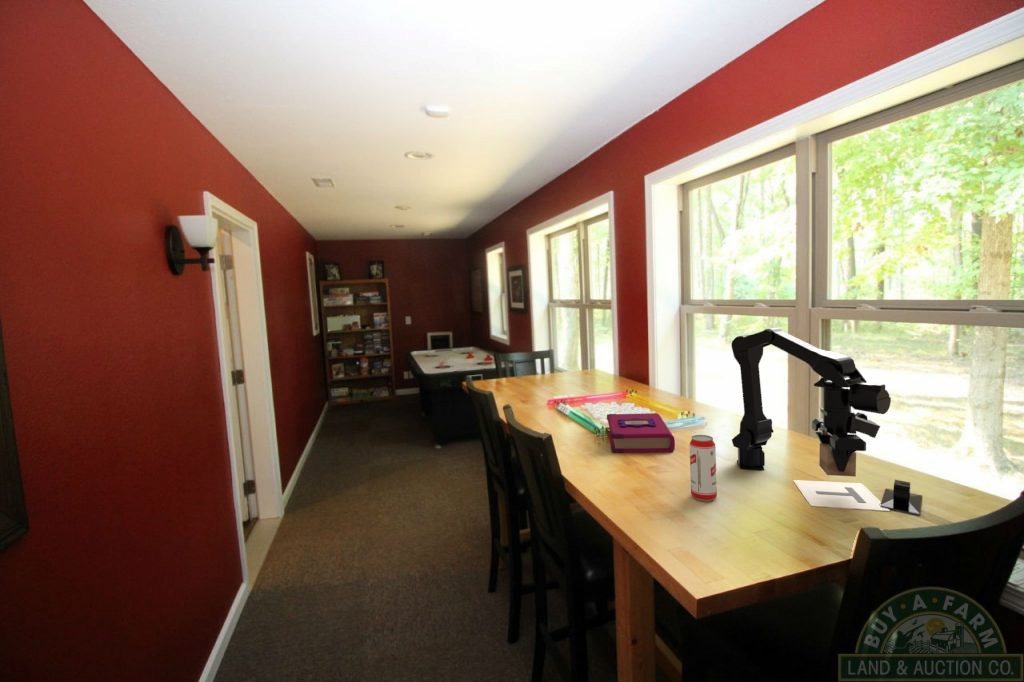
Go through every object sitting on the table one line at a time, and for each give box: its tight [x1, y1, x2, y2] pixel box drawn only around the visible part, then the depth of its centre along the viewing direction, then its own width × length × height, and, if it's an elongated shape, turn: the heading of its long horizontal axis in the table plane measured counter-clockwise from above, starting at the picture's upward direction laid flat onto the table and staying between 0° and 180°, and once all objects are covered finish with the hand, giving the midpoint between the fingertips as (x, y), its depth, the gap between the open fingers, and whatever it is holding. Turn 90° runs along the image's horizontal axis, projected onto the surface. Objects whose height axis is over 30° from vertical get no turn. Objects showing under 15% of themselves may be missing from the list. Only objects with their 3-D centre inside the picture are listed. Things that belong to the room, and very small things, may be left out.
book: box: [606, 412, 676, 454], centre depth 171 cm, size 21×28×8 cm
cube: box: [818, 443, 857, 477], centre depth 117 cm, size 6×6×6 cm
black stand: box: [879, 479, 923, 516], centre depth 112 cm, size 12×7×5 cm, turn 137°
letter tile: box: [792, 479, 891, 512], centre depth 118 cm, size 16×16×1 cm
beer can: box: [689, 434, 718, 503], centre depth 120 cm, size 6×6×16 cm
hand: (836, 466), depth 117 cm, fingers closed on cube, 6 cm apart
